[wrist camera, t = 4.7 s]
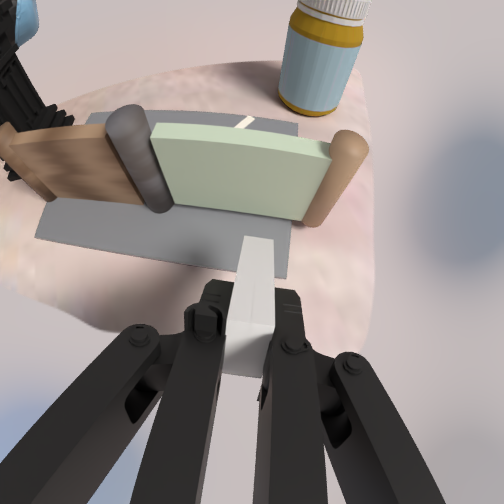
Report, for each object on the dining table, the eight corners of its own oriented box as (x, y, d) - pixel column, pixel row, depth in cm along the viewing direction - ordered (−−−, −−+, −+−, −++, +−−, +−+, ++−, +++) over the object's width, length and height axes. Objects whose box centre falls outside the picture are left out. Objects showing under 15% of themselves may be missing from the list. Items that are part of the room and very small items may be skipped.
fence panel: (173, 208, 21) (143, 131, 13) (179, 186, 22) (155, 106, 13) (323, 229, 21) (370, 162, 13) (323, 206, 22) (366, 134, 13)
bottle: (297, 125, 26) (331, -3, 12) (266, 87, 28) (281, -26, 14) (347, 113, 28) (392, 7, 14) (314, 78, 30) (341, -21, 15)
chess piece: (10, 181, 23) (-78, 79, 4) (31, 132, 26) (-33, 29, 7) (54, 171, 24) (-39, 38, 5) (74, 118, 26) (15, -7, 7)
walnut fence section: (41, 201, 22) (-15, 147, 12) (49, 181, 23) (-1, 123, 13) (171, 215, 22) (134, 134, 13) (178, 190, 23) (150, 103, 13)
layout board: (36, 238, 21) (33, 236, 21) (92, 115, 26) (91, 112, 26) (285, 279, 21) (286, 277, 21) (297, 125, 26) (298, 122, 26)
